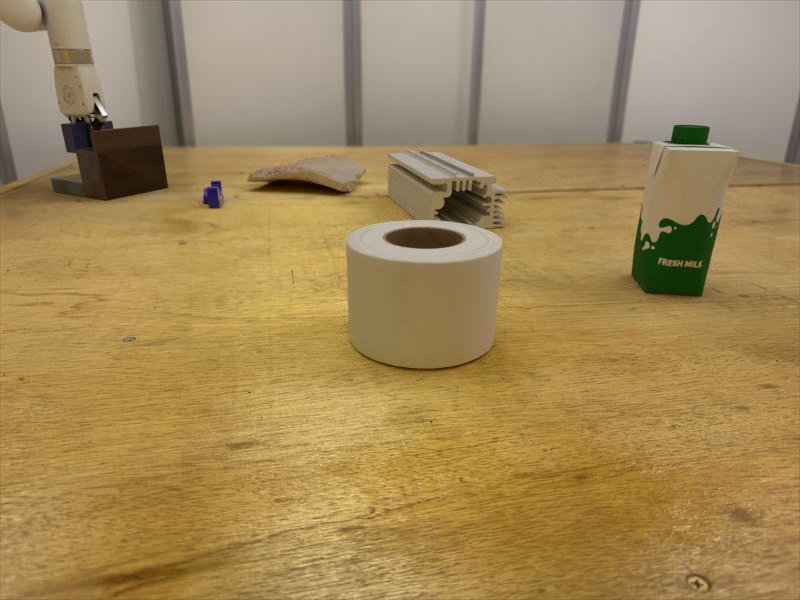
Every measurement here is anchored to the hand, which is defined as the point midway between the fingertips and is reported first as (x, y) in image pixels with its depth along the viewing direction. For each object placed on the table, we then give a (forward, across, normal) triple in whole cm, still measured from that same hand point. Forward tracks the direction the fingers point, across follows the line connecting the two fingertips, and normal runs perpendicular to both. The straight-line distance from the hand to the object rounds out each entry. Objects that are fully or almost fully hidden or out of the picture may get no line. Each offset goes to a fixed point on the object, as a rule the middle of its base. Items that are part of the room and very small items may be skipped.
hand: (91, 147), depth 124 cm
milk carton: (+10, +120, -4) cm, 121 cm away
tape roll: (+9, +98, -33) cm, 104 cm away
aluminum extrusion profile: (+10, +77, +20) cm, 80 cm away
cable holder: (+9, +34, +1) cm, 36 cm away
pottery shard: (+10, +40, +27) cm, 49 cm away
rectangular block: (+1, 0, 0) cm, 1 cm away
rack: (+9, +4, 0) cm, 10 cm away
